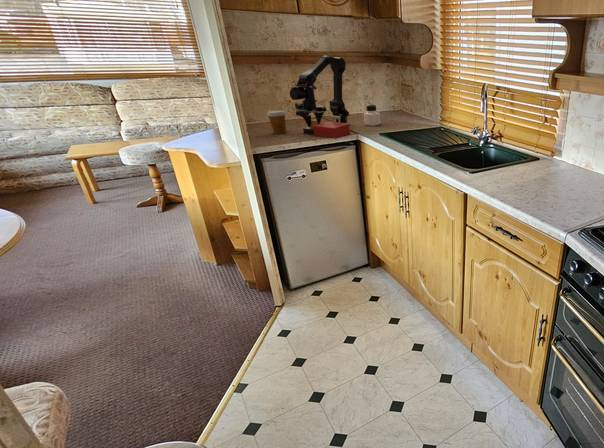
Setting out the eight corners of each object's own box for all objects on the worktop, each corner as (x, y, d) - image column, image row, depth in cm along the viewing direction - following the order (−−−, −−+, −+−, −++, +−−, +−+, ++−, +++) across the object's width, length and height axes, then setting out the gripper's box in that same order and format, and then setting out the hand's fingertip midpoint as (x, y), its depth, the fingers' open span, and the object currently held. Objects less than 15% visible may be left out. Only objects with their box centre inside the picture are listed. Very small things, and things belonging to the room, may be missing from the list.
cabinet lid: (328, 122, 235) (327, 114, 232) (349, 124, 230) (348, 116, 228) (312, 127, 223) (311, 118, 221) (334, 129, 219) (333, 120, 217)
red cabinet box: (329, 131, 236) (327, 123, 234) (350, 133, 231) (348, 125, 229) (314, 135, 225) (312, 127, 223) (335, 138, 221) (334, 129, 219)
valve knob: (313, 126, 234) (312, 118, 233) (319, 126, 233) (318, 119, 231) (308, 127, 231) (307, 119, 229) (314, 128, 229) (313, 120, 227)
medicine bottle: (380, 124, 257) (379, 104, 252) (372, 126, 251) (370, 106, 246) (372, 122, 260) (371, 103, 255) (364, 124, 255) (362, 105, 250)
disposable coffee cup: (292, 131, 235) (288, 110, 230) (283, 134, 226) (279, 113, 221) (276, 130, 235) (272, 109, 230) (267, 134, 227) (262, 112, 222)
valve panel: (314, 130, 239) (314, 124, 237) (326, 131, 236) (326, 125, 235) (302, 133, 230) (301, 127, 229) (314, 134, 228) (314, 129, 226)
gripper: (309, 95, 235) (314, 122, 242) (285, 99, 220) (290, 128, 226) (325, 96, 232) (329, 123, 239) (301, 100, 216) (306, 129, 223)
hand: (314, 126), depth 232 cm, fingers open, 7 cm apart
